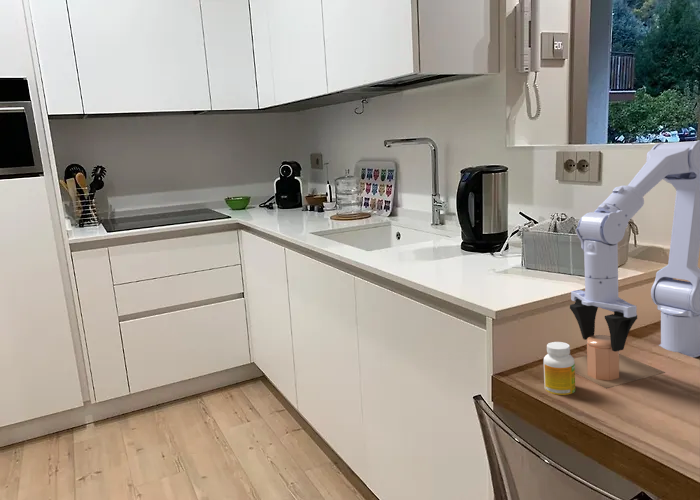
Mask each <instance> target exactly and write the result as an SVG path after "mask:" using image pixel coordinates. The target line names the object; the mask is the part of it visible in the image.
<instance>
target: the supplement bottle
mask: <svg viewBox="0 0 700 500" xmlns="http://www.w3.org/2000/svg"><path fill="white" fill-rule="evenodd" d="M546 353H547V354H546V355H545V356H544V357H543V381H544V383H543V384H544V390H545V391H546V392H548V393H549V394H552V395H558V396H566V395H572V394H574V393H575V392H576V373H575V362H574V357H573V355H571V346H570V344H568V343H566V342H565V341H564V342H562V341H553V342H548V343H547V344H546Z"/></svg>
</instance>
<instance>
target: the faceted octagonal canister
mask: <svg viewBox="0 0 700 500" xmlns="http://www.w3.org/2000/svg"><path fill="white" fill-rule="evenodd" d="M619 354H620V351H616V352H615V351H612V348H611V339H610V335H607V334H606V335H604V334H594V336H590V337H588V338H587V341H586V356H587V367H588V375H589V376H591V377H593V378H595V379H600V380H613V379H617V378H619Z"/></svg>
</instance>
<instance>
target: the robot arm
mask: <svg viewBox="0 0 700 500" xmlns="http://www.w3.org/2000/svg"><path fill="white" fill-rule="evenodd" d="M645 160H646V161H645V163H644V164H643V166H642V167H641V168H640V169H639V171H638V172H637V173H636V174H635V176H634V177H633V178H632V179H631V181H630V182H629V183H628V184H627V185H625V184H623V185H620V186H615V187H614V188H613V189H612V193H610V194H609V195H608V197H607V198H606V199H605V200H603V201H602V203H600V204H599V205H598V206H597V208H596V209H595V210H594V211H590V212H589V211H588V212H587V213H585V214H584V215H582V216H581V217H580V218H579V220H578V223H577V227H576V228H575V232H576V235H577V238H578V239H579V241H580V246H581V247H580V248H581V249H582V251H583V255H584V256H583V258H584V259H583V260H584V262H583V263H584V290H580V289H574V290H571V291H570V297H571V298H570V299H571V301H572V302H574V303H572V304H569V309H570V310H571V312H572V313H573V315H574V318H575V320H576V322H577V324H578V327H579V331H580V334H581V337H582V339H583V340H584V341H585V340H587V338H588V337H590V336H594V335H595V332H596V331H595V330H596V327H595V326H596V317H597V312H598V309H599V308H600V309H603V310H607V311H610V312H613V313H611V314H607V315H604V320H605V321H606V324H607V326H608V330H609V336H610V339H611V348H612V351H615V352H616V351H619V352H620V351H624V349H625V345H626V343H627V342H626V341H627V339H628V337H629V336H628V335H629V333H630V331H631V329H632V327H633V325H634V324H635V322H636V321H637V320H638V313H637V310H638V309H637V305H635V304H632V303H630V302H628V301H627V300H624V298H621V297H619V254H618V253H619V252H618V251H619V249H618V248H619V245H618V243H620V242H621V241H622V240H623V239H624V237H625V234H626V230H627V227H628V226H629V221H630V220H632V218H634V216H635V215H636V214H637V213H638V212H639V211H640V210H641V209H642V207H643V206H644V204H645V200H644V196H646V195H647V194H648V193H650V191H651V190H652V189H654V188H655V187H656V186H657V185H658V184H660V182H662V181H665V182H666V183H668V184H671V185H672V187H674V189H675V202H674V208H673V209H674V210H673V218H672V219H673V220H672V226H671V227H672V228H671V234H670V235H671V236H670V244H669V245H670V246H669V255H668V262H667V263H668V264H667V265H665V266H663V267H661V269H659V270H657V272H655V279H654V282H653V284H652V286H651V289H650V297H651V300H652V302H653V303H654V304H655V305H656V306H657V310H658V311H660V344H658V346H659V347H661V348H662V349H665V350H667V351H669V352H673V353H679V354H681V355H684V356H685V355H686V356H688V357H690V358H693V359H694V358H699V357H700V267H699V259H700V257H699V256H700V140H699V139H698V140H695V141H682V142H681V141H680V142H669V143H663V142H659V143H655V144H654V145H653V146H652V148H651V149H650V150H648V151H647V153H646V159H645Z"/></svg>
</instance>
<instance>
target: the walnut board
mask: <svg viewBox="0 0 700 500" xmlns="http://www.w3.org/2000/svg"><path fill="white" fill-rule="evenodd" d="M573 358H574V357H573ZM574 362H575V375H579V376H580V377H582V378H584V379H586V380H587V381H588V380H589V381H590V382H593V383H595V384H597V385H599V386H600V387H603V388H604V389H609V388H613V387H617V386H620V385H624V384H627V383H631V382H635V381H638V380H642V379H646V378H650V377H653V376H657V375H661V374H665V373H666V371H664V370H661V369H658V368H656V367H654V366H651V365H649V364H646V363H643V362H641V361H638V360H636V359H634V358H631V357H628V356H626V355H624V354H621V353H619V378H617V379H613V380H600V379H595V378H593V377H591V376H589V375H588V367H587V355H583V356H579V357H576V358H574Z"/></svg>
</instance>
